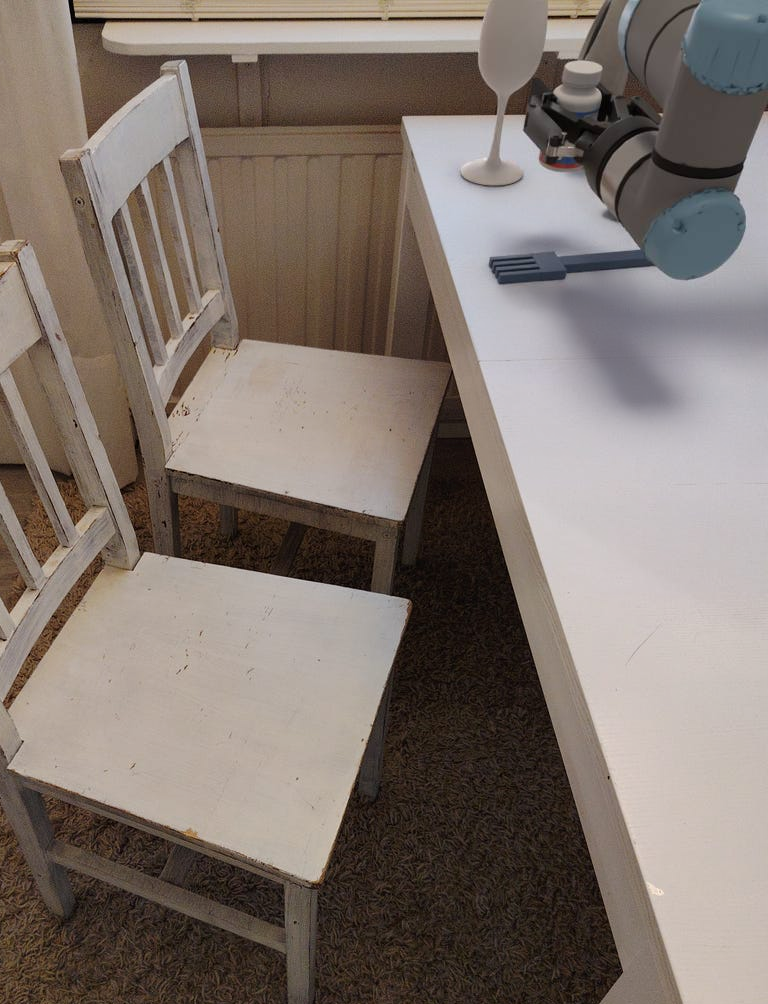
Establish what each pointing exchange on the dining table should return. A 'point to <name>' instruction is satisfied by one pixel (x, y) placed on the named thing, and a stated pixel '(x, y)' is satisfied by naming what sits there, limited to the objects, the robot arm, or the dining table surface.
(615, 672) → the dining table surface
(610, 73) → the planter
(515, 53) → the wineglass
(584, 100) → the pill bottle
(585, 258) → the serving fork
